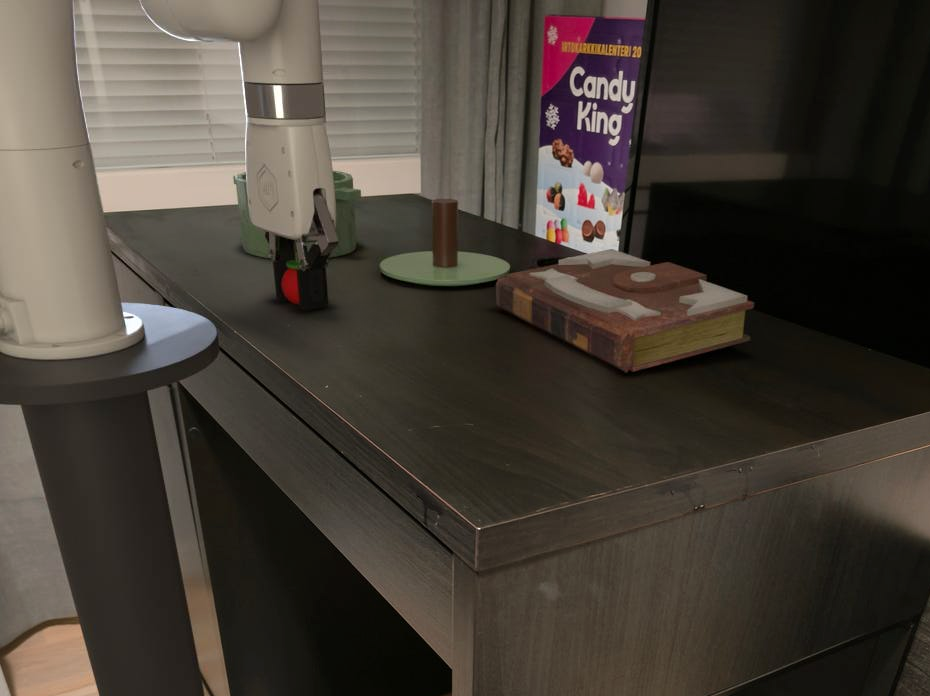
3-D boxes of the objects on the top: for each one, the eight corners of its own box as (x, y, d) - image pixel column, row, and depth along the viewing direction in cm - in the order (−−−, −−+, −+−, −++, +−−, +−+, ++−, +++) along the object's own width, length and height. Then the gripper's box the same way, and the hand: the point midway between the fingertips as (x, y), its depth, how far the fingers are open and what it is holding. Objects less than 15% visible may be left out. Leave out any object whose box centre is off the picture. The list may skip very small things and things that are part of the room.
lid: (460, 297, 101) (460, 218, 97) (353, 276, 109) (348, 201, 104) (534, 272, 112) (537, 199, 108) (432, 254, 119) (431, 185, 115)
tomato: (296, 311, 95) (291, 257, 92) (276, 303, 98) (271, 250, 95) (328, 305, 97) (325, 253, 94) (308, 298, 100) (304, 246, 97)
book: (497, 317, 98) (494, 268, 95) (618, 290, 103) (619, 243, 100) (620, 383, 81) (622, 326, 78) (757, 346, 86) (764, 291, 83)
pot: (318, 268, 112) (312, 191, 107) (206, 246, 121) (196, 174, 116) (394, 249, 122) (391, 178, 117) (284, 230, 131) (278, 163, 126)
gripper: (208, 100, 90) (232, 293, 101) (297, 113, 80) (314, 327, 90) (275, 97, 94) (292, 283, 105) (368, 110, 84) (376, 315, 94)
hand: (302, 301), depth 97 cm, fingers closed on tomato, 3 cm apart
